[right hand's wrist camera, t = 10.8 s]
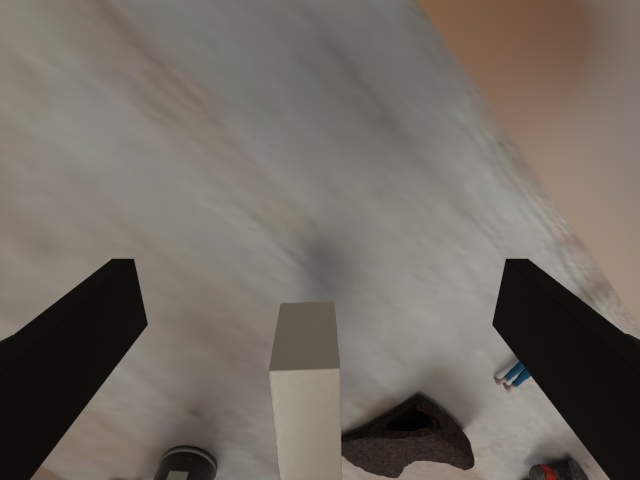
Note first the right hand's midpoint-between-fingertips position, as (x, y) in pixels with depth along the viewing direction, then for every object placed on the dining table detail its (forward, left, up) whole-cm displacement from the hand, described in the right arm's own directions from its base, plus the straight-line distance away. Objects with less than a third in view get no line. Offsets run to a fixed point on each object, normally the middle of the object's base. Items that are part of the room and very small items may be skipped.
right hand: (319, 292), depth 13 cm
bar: (+23, +5, -17) cm, 29 cm away
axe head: (+40, +24, -31) cm, 56 cm away
